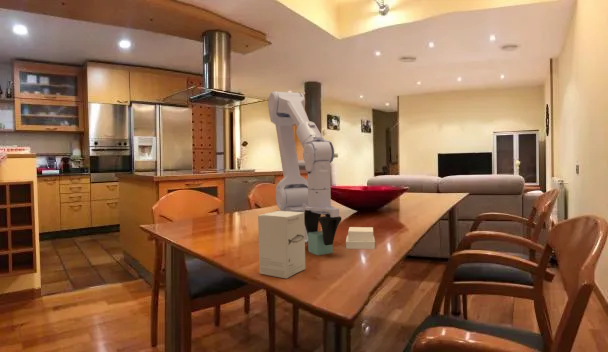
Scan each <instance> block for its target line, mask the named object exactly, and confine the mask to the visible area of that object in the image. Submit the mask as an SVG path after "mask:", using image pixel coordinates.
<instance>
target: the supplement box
mask: <svg viewBox="0 0 608 352" xmlns="http://www.w3.org/2000/svg"><path fill="white" fill-rule="evenodd" d="M257 219H258V221H257V222H258V223H257V227H258V229H257V230H258V261H259V262H258V267H259V272H258V273H259V274H261V275H264V276H271V277H275V278H276V277H277V278H281V279H286V280H287V279H288V278H290V277H292V276H293V275H296V274H298V273H300V272H302V271H304V270H306V243H305V225H304V212H291V211H277V210H276V211H272V212H265V213H262V214H258V215H257Z"/></svg>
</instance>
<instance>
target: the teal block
mask: <svg viewBox="0 0 608 352" xmlns="http://www.w3.org/2000/svg"><path fill="white" fill-rule="evenodd" d="M307 243H308V244H307V245H308V247H307V248H308V252H309V253H310V254H312V255H315V256H321V255H327V254H333V252H334V250H333V248H334V247H333V246H334V244H333V245H324V241H323V232H322V230H318V231H317V232H309V233H308V242H307Z"/></svg>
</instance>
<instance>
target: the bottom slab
mask: <svg viewBox="0 0 608 352" xmlns="http://www.w3.org/2000/svg"><path fill="white" fill-rule="evenodd" d="M375 242H376V240H375V235H373V241H348V235H346V239H345V249H346V250H349V249H352V250H353V249H354V250H355V249H356V250H357V249H358V250H361V249H362V250H376V243H375Z"/></svg>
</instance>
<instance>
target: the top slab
mask: <svg viewBox="0 0 608 352" xmlns="http://www.w3.org/2000/svg"><path fill="white" fill-rule="evenodd" d="M347 236H348V241H373V236H374V227H371V226H369V227H366V226H364V227H362V226H350V227H348V231H347Z"/></svg>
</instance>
